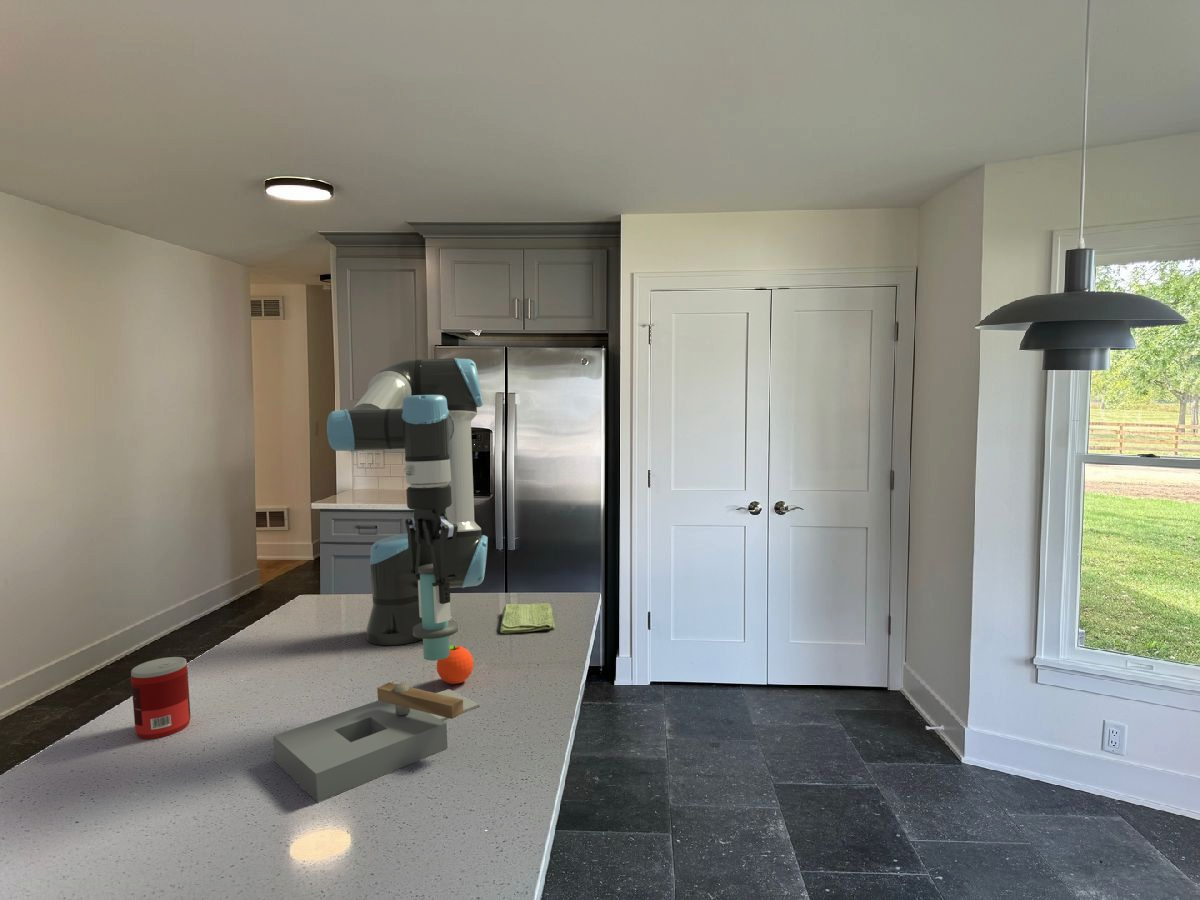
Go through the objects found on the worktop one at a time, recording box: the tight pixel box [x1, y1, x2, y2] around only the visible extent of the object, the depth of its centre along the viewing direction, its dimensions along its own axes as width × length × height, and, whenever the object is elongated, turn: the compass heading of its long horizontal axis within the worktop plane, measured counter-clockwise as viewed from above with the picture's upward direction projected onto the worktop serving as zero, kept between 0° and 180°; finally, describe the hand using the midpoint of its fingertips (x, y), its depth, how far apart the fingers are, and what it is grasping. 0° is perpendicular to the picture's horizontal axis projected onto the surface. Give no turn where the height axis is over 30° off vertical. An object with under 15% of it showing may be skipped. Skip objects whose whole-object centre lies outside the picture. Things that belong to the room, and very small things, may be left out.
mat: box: [431, 688, 480, 721], centre depth 122 cm, size 10×10×1 cm
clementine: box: [436, 645, 474, 685], centre depth 133 cm, size 8×7×7 cm
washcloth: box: [500, 602, 556, 635], centre depth 169 cm, size 13×18×3 cm
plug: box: [413, 564, 459, 662], centre depth 120 cm, size 8×8×16 cm
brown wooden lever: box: [376, 682, 464, 720], centre depth 108 cm, size 2×16×4 cm, turn 60°
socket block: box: [272, 699, 448, 803], centre depth 105 cm, size 16×20×4 cm
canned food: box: [130, 656, 192, 740], centre depth 116 cm, size 8×8×11 cm
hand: (435, 618), depth 120 cm, fingers closed on plug, 4 cm apart
